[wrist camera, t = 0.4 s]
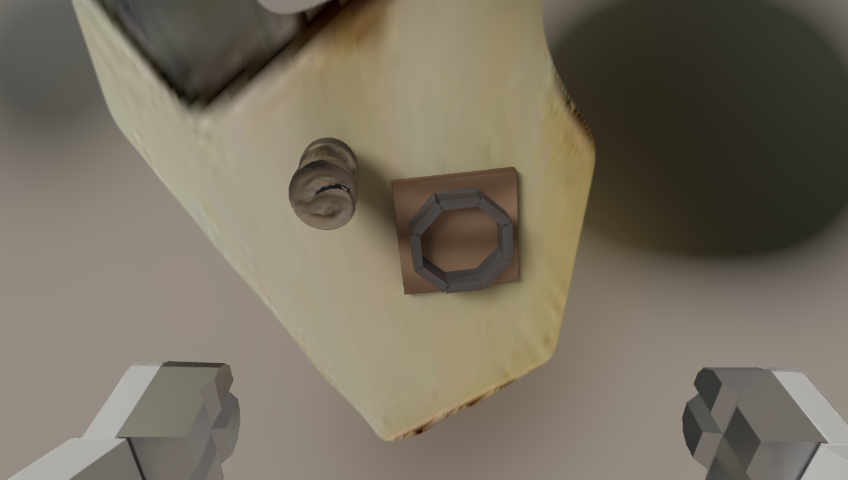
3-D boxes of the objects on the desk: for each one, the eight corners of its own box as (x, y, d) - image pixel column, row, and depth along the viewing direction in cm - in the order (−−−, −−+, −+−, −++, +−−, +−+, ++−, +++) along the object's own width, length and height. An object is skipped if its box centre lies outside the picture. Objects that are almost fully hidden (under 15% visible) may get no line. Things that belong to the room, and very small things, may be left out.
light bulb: (371, 161, 55) (371, 214, 42) (328, 189, 56) (313, 250, 42) (339, 115, 53) (327, 154, 39) (294, 145, 54) (268, 194, 40)
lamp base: (391, 180, 56) (392, 194, 52) (513, 166, 57) (524, 179, 53) (404, 288, 62) (406, 308, 57) (515, 274, 62) (525, 294, 58)
